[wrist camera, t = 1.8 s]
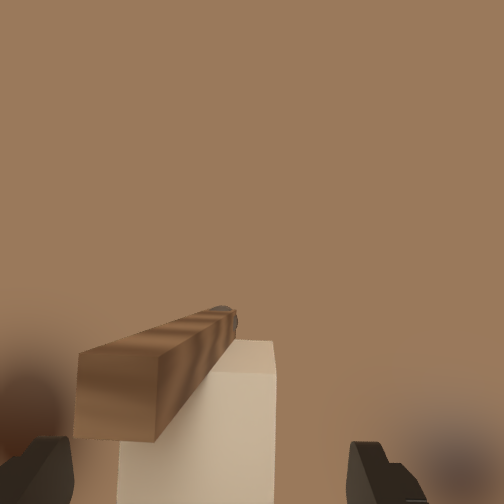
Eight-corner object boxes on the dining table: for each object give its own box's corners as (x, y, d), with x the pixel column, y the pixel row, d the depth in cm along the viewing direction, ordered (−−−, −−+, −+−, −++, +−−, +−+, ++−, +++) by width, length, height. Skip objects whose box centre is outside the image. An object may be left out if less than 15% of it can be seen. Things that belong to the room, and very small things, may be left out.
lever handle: (159, 443, 13) (164, 345, 13) (67, 437, 13) (74, 342, 13) (237, 338, 39) (238, 306, 39) (205, 337, 39) (207, 305, 39)
